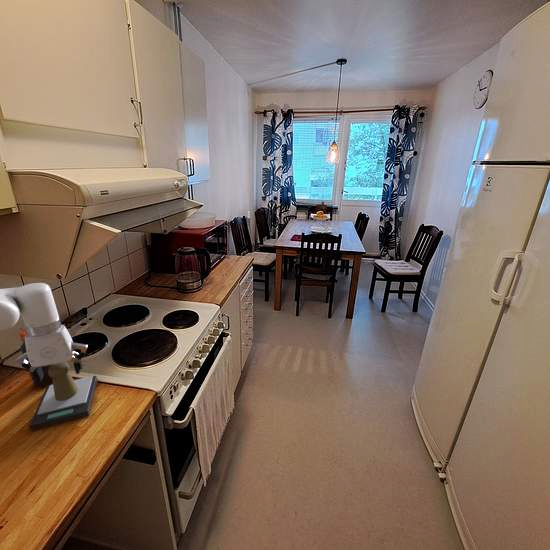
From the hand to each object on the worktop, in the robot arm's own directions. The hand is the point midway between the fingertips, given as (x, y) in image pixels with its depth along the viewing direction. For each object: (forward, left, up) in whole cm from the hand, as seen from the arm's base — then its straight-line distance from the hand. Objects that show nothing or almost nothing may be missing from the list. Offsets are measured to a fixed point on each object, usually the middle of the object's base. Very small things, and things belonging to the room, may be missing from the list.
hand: (60, 374), depth 86 cm
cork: (0, 0, -8) cm, 8 cm away
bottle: (-9, +13, -10) cm, 18 cm away
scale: (0, -1, -10) cm, 10 cm away
